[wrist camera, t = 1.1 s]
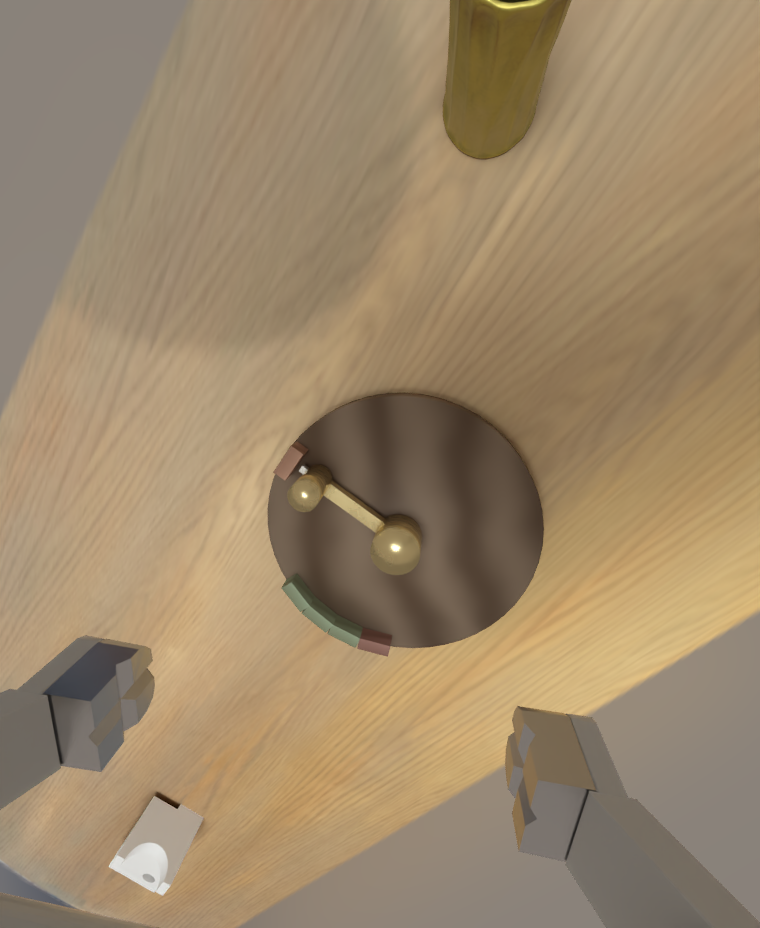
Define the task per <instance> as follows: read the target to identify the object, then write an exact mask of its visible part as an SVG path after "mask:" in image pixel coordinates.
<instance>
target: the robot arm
mask: <svg viewBox="0 0 760 928" xmlns="http://www.w3.org/2000/svg"><path fill="white" fill-rule="evenodd" d="M152 661H153V660H152V653H151V649H150V648H148V647H146V646H141V645H136V644H131V643H126V642H120V641H115V640H110V639H102V638H97V637H92V636H87V635H86V636H83V637H80V638H77V639H76V640H75V641H74V642H73V643H71V644H70V645H69V646H68V647H67V648H65V649H64V650H63V651H62V652H61V653H60V654H58V655H57V656H56V657H55V658H54V659H53V660H51V661H50V662H49V663H48V664H47V665H46V666H44V667H43V668H42V669H41V670H40V671H39V672H37V673H36V674H35V675H34V676H33V677H31V678H30V679H29V680H28V681H27V682H26V683H24V684H23V685H22V686H21V687H20V688H19V689H17V690H14V689H9V690H6V691H4V692H2V693H0V810H1V809H2V808H4V807H5V806H7V805H8V804H9V803H11V802H12V801H14V800H15V799H17V798H18V797H20V796H21V795H23V794H24V793H26V792H27V791H28V790H30V789H31V788H33V787H34V786H36V785H37V784H39V783H40V782H42V781H43V780H45V779H46V778H48V777H49V776H50V775H52V774H53V773H55V772H56V771H58V770H59V769H60V768H61V766H66V767H72V768H79V769H85V770H92V771H98V772H101V771H102V770H103V769H104V767H105V766H106V765H107V763H108V762H109V761H110V760H111V758H112V757H113V756H114V754H115V753H116V752H117V750H118V749H119V748H120V746H121V745H122V744H123V742H124V731H125V730H127V729H129V728H131V727H132V726H134V725H136V724H137V723H139V721H140V720H141V718H142V717H143V716H144V714H145V713H146V711H147V709H148V707H149V705H150V702H151V700H152V698H153V693H154V687H155V683H154V676H153V675H152V674H151V672H150V671H149V670H148V668H147V667H148V666H149V665H150V663H151V662H152ZM512 722H513V727H514V733H513V734H511V735H510V736H509V737H508V741H507V746H506V759H505V767H506V778H507V785H508V790H509V791H510V792H511V794H512V795H513V796H514V798H515V803H514V807H513V811H512V815H513V821H514V827H515V833H516V838H517V844H518V850H519V852H523V853H528V854H532V855H537V856H541V857H546V858H551V859H555V860H560V861H564V862H566V866H567V868H568V870H569V871H570V873H571V874H572V876H573V877H574V879H575V880H576V882H577V884H578V885H579V887H580V888H581V890H582V891H583V893H584V894H585V896H586V897H587V899H588V901H589V902H590V904H591V905H592V907H593V908H594V910H595V911H596V913H597V914H598V916H599V918H600V919H601V921H602V922H603V924H604V925H605V927H606V928H760V922H759V921H758V920H757V919H756V918H755V917H754V916H753V915H752V914H751V913H750V912H749V911H748V910H747V909H746V908H745V907H744V906H742V904H741V903H740V902H739V901H738V900H737V899H736V898H735V897H734V896H733V895H732V894H731V893H730V892H729V891H728V890H727V889H726V888H725V887H724V886H723V885H722V884H721V883H719V881H718V880H717V879H716V878H715V877H714V876H713V875H712V874H711V873H710V872H709V871H708V870H707V869H706V868H705V867H704V866H703V865H702V864H701V863H700V862H699V861H698V860H697V859H696V858H695V857H694V856H693V855H692V854H691V853H690V852H689V851H688V850H687V849H686V848H685V847H684V846H683V845H682V844H681V843H679V841H678V840H677V839H676V838H675V837H674V836H673V835H672V834H671V833H670V832H669V831H668V830H667V829H666V828H665V827H664V826H663V825H662V824H661V823H660V822H659V821H658V820H657V819H656V818H655V817H654V816H653V815H652V814H651V813H650V812H649V811H648V810H647V809H646V808H645V807H644V806H643V805H642V804H641V803H640V802H639V801H638V800H637V799H633V798H628V796H627V793H626V791H625V789H624V786H623V784H622V782H621V779H620V777H619V775H618V773H617V770H616V768H615V765H614V763H613V761H612V758H611V756H610V754H609V751H608V749H607V747H606V744H605V742H604V740H603V737H602V735H601V733H600V731H599V728H598V726H597V724H596V722H595V720H594V719H593V718H592V717H586V716H579V715H573V714H564V713H559V712H552V711H546V710H539V709H533V708H526V707H519V706H517V708H516V709H515V711H514V715H513V719H512ZM0 928H159V927H155V926H150V925H146V924H141V923H136V922H132V921H127V920H123V919H118V918H114V917H109V916H105V915H100V914H96V913H91V912H86V911H82V910H77V909H73V908H68V907H64V906H59V905H55V904H50V903H46V902H41V901H36V900H32V899H27V898H23V897H18V896H13V895H9V894H5V893H0Z"/></svg>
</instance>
